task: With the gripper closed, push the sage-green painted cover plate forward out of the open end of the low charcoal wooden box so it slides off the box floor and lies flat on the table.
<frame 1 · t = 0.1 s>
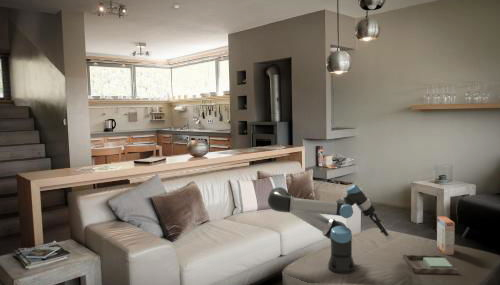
hand: (387, 235, 233), 15 cm above the table, tool tilted 35°, fingers open, 13 cm apart
cover plate: (437, 265, 223), point 1 cm above the table, touching slide box
cracker box: (445, 251, 246), on the table
slide box: (428, 266, 224), on the table
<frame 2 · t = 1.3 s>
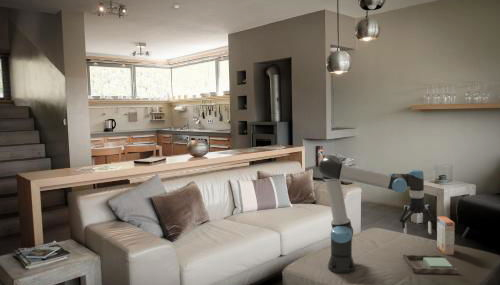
hand: (417, 233, 223), 20 cm above the table, tool pointing down, fingers open, 13 cm apart
nothing on the table moved.
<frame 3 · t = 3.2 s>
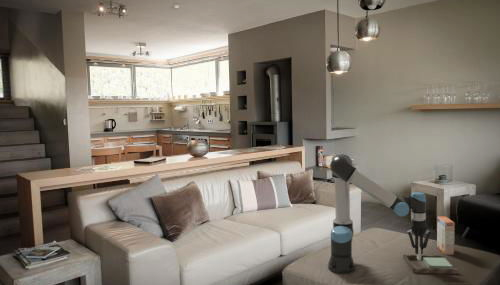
hand: (419, 259, 224), 4 cm above the table, tool pointing down, fingers closed
nothing on the table moved.
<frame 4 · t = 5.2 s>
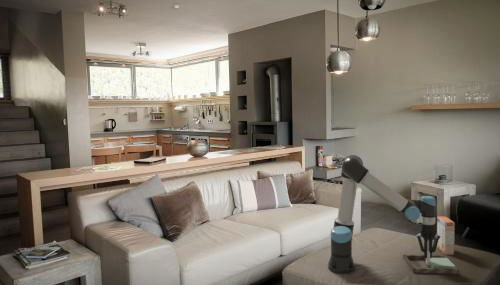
hand: (427, 263, 224), 2 cm above the table, tool pointing down, fingers closed
cover plate: (440, 265, 223), point 1 cm above the table, touching gripper, slide box
everything else where it was.
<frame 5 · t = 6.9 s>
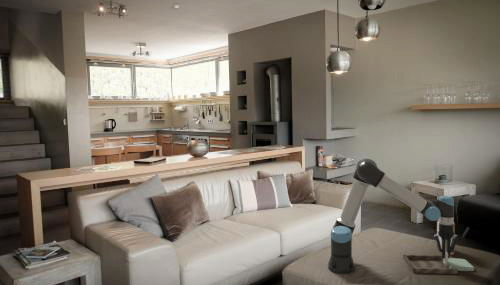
hand: (445, 263, 222), 2 cm above the table, tool pointing down, fingers closed
cover plate: (457, 266, 222), on the table, touching gripper
everything else where it was.
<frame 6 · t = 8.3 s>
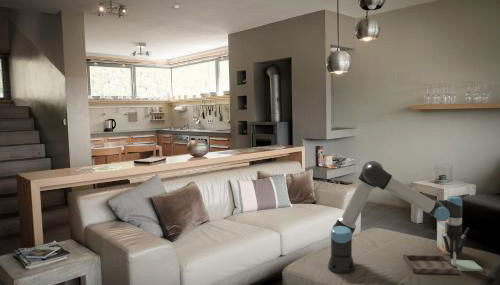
hand: (453, 264, 222), 2 cm above the table, tool pointing down, fingers closed
cover plate: (466, 268, 221), on the table, touching gripper
everything else where it was.
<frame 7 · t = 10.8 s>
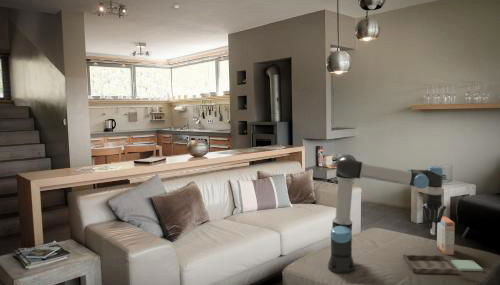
hand: (432, 233, 224), 19 cm above the table, tool pointing down, fingers closed
cover plate: (466, 268, 221), on the table
everything else where it was.
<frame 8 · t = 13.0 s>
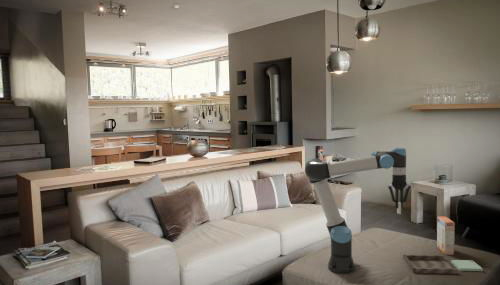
hand: (399, 213, 230), 29 cm above the table, tool pointing down, fingers closed
nothing on the table moved.
at the end: cover plate inside the target area (3.7 cm from its centre), on the table; cover plate tilted 0°; cover plate touching table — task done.
